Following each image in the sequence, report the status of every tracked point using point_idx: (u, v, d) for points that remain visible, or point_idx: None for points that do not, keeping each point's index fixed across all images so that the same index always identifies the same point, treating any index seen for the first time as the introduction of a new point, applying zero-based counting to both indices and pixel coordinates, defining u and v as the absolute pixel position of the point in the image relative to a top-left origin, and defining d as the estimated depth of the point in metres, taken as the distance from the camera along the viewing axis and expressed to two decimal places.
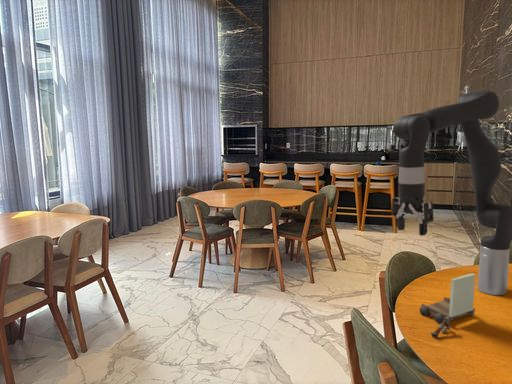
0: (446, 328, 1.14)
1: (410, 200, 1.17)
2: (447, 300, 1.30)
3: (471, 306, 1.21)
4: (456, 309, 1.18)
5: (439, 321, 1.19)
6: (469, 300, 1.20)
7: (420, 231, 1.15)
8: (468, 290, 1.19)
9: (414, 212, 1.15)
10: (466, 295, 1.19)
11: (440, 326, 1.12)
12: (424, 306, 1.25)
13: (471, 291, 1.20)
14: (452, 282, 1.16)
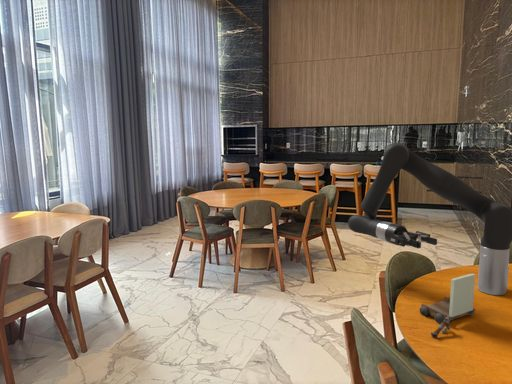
0: (446, 328, 1.14)
1: None
2: (447, 300, 1.30)
3: (471, 306, 1.21)
4: (456, 309, 1.18)
5: (439, 321, 1.19)
6: (469, 300, 1.20)
7: (416, 247, 1.28)
8: (468, 290, 1.19)
9: None
10: (466, 295, 1.19)
11: (440, 326, 1.12)
12: (424, 306, 1.25)
13: (471, 291, 1.20)
14: (452, 282, 1.16)
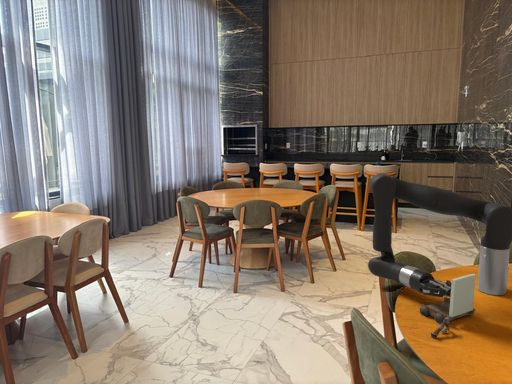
0: (446, 328, 1.14)
1: None
2: (447, 300, 1.30)
3: (471, 306, 1.21)
4: (456, 309, 1.18)
5: (439, 321, 1.19)
6: (470, 300, 1.20)
7: None
8: (468, 290, 1.19)
9: None
10: (467, 295, 1.19)
11: (440, 326, 1.12)
12: (424, 306, 1.25)
13: (471, 291, 1.20)
14: (453, 282, 1.16)
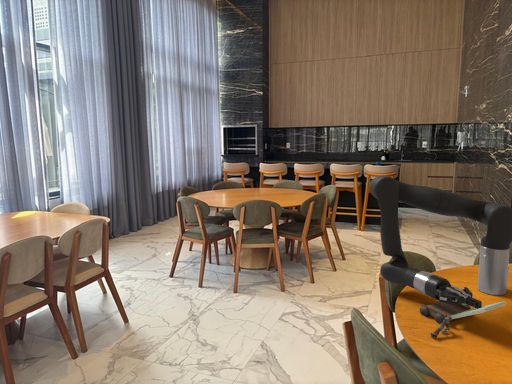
0: (446, 328, 1.14)
1: None
2: None
3: None
4: None
5: (439, 321, 1.19)
6: None
7: None
8: None
9: None
10: None
11: (440, 326, 1.12)
12: (424, 306, 1.25)
13: None
14: (482, 310, 1.08)
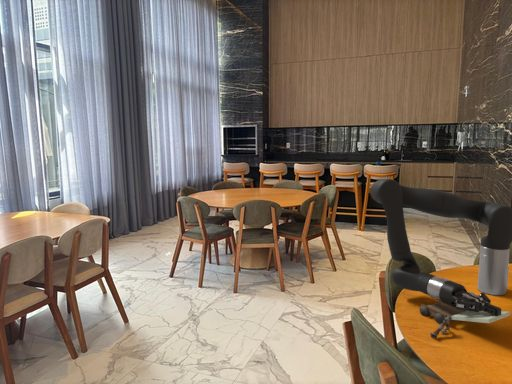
0: (446, 329, 1.14)
1: None
2: None
3: None
4: None
5: (439, 321, 1.19)
6: None
7: None
8: None
9: None
10: None
11: (439, 327, 1.12)
12: (424, 306, 1.25)
13: None
14: (485, 321, 1.07)
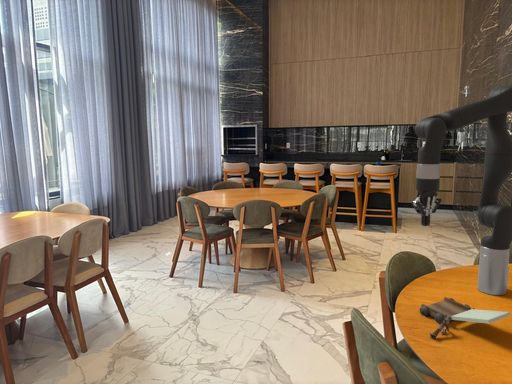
0: (445, 329, 1.13)
1: None
2: (447, 300, 1.30)
3: None
4: None
5: (439, 321, 1.19)
6: None
7: None
8: None
9: None
10: None
11: (439, 327, 1.12)
12: (424, 306, 1.25)
13: None
14: (486, 321, 1.07)
